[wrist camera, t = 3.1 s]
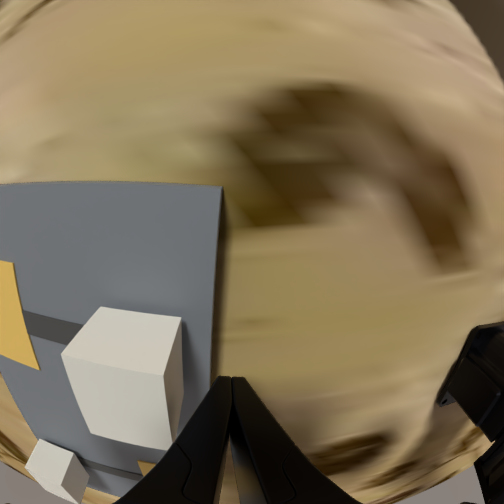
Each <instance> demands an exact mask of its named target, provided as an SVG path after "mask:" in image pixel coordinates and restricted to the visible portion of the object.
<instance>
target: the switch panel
mask: <svg viewBox="0 0 504 504" xmlns="http://www.w3.org/2000/svg"><path fill="white" fill-rule="evenodd" d="M222 192H223V187H221V186H209V185H194V184H178V183H158V182H129V181H57V182H30V183H13V184H0V372H1V374H2V376H3V378H4V381H5V383H6V385H7V387H8V389H9V391H10V393H11V395H12V397H13V399H14V401H15V403H16V404H17V406H18V408H19V410H20V412H21V413H22V415H23V417H24V419H25V420H26V422H27V424H28V425H29V427H30V429H31V430H32V432H33V433H34V435H35V436H36V438H37V439H38V441H39V439H42V440H44V441H46V442H48V443H51V444H53V445H55V446H58V447H60V448H63V449H65V450H68V451H70V452H73V453H74V454H75V455H76V457H77V458H78V460H79V462H80V463H81V465H82V466H83V467H84V469H85V470H86V472H87V473H88V475H89V476H90V477H89V480H88V483H87V487H90V488H92V489H95V490H98V491H102V492H105V493H108V494H111V495H115V496H118V497H122V496H124V495H125V494H126V493H127V492H128V491H129V490H130V489H131V488H132V487H133V486H135V485H136V484H137V483H138V482H139V481H140V480H141V479H142V478H143V477H144V476H145V475H146V474H147V473H148V472H149V471H150V470H151V469H152V468H153V467H154V466H155V465H156V464H157V463H158V462H159V460H160V459H161V458H162V457H163V455H164V454H165V453H166V452H167V450H160V449H154V448H149V447H144V446H139V445H134V444H130V443H125V442H121V441H117V440H113V439H109V438H105V437H102V436H98V435H95V434H92V433H91V432H90V430H89V428H88V426H87V424H86V422H85V419H84V417H83V415H82V412H81V410H80V408H79V405H78V403H77V400H76V398H75V395H74V392H73V390H72V387H71V384H70V381H69V378H68V375H67V372H66V369H65V366H64V363H63V360H62V357H61V353H62V352H63V351H64V349H65V348H66V347H67V346H68V344H69V343H70V342H71V341H72V339H73V338H74V337H75V336H76V335H77V333H78V332H79V331H80V330H81V329H82V327H83V326H84V325H85V324H86V323H87V321H88V320H89V319H90V318H91V317H92V316H93V314H94V313H95V312H96V311H97V310H98V309H99V308H100V306H101V307H107V308H113V309H120V310H127V311H134V312H141V313H149V314H157V315H165V316H174V317H181V326H182V366H183V387H184V395H183V400H182V406H181V412H180V418H179V423H178V429H177V435H176V438H177V436H178V435H179V434H180V432H181V431H182V429H183V428H184V426H185V425H186V423H187V422H188V421H189V419H190V418H191V416H192V415H193V413H194V412H195V410H196V409H197V407H198V406H199V404H200V403H201V401H202V400H203V398H204V397H205V395H206V394H207V392H208V391H209V389H210V387H211V357H212V334H213V314H214V296H215V280H216V265H217V251H218V238H219V226H220V214H221V203H222Z"/></svg>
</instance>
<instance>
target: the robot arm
mask: <svg viewBox="0 0 504 504" xmlns="http://www.w3.org/2000/svg"><path fill="white" fill-rule="evenodd" d="M454 402H457V403H458V405H459V406H460V407H461V408H462V409H463V411H464V412H465V413H466V414H467V416H468V417H469V418H470V419H471V421H472V422H473V423H474V424H475V426H477V427H479V428H480V429H481V430H482V432H483V433H484V434H485V435H486V437H487V438H488V439H489V441H490V442H493V441H494V440H495V442H494V443H493V445H492V446H491V447H490V448H489V449H488V450H487V451H486V452H485V453H484V454H483V455H482V456H480V457H479V458H478V459H477V460H476V461H475V462H474V466H475V469H476V473H477V476H478V479H479V483H480V486H481V490H482V494H483V497H484V501H485V504H504V322H498V323H492V324H486V325H479V326H476V327H475V328H474V329H473V331H472V332H471V335H470V337H469V339H468V342H467V344H466V346H465V348H464V350H463V353H462V355H461V357H460V359H459V361H458V363H457V365H456V367H455V369H454V371H453V373H452V375H451V377H450V379H449V380H448V382H447V384H446V386H445V388H444V389H443V391H442V393H441V395H440V396H439V398H438V400H437V404H438V405H439V406H440V407H442V406H445V405H448V404H451V403H454ZM229 434H230V445H231V451H232V458H233V464H234V470H235V476H236V482H237V488H238V493H239V499H240V504H363V503H361V502H359V501H357V500H355V499H354V498H352V497H351V496H350V495H348V494H347V493H346V492H345V491H343V490H342V489H341V488H340V487H338V486H337V485H336V484H335V483H334V482H332V481H331V480H330V479H329V478H328V477H326V476H325V475H324V474H323V473H322V472H321V471H320V470H319V469H318V468H316V467H315V466H314V465H313V464H312V463H311V462H310V460H309V459H308V458H307V457H306V456H305V455H304V454H303V453H302V452H301V450H300V449H299V448H298V447H297V446H296V445H295V443H294V442H293V441H292V439H291V438H290V437H289V436H288V434H287V433H286V432H285V431H284V429H283V428H282V427H281V426H280V424H279V423H278V422H277V421H276V419H275V418H274V417H273V415H272V414H271V413H270V411H269V410H268V409H267V407H266V406H265V405H264V403H263V402H262V401H261V399H260V398H259V397H258V395H257V394H256V393H255V391H254V390H253V388H252V387H251V386H250V384H249V383H248V382H247V380H246V379H245V378H244V377H232V378H231V377H230V376H218V377H217V379H216V380H215V382H214V383H213V385H212V386H211V388H210V389H209V391H208V392H207V394H206V395H205V397H204V398H203V400H202V401H201V403H200V404H199V406H198V407H197V409H196V410H195V412H194V413H193V415H192V416H191V418H190V419H189V421H188V422H187V423H186V425H185V426H184V428H183V429H182V431H181V432H180V434H179V435H178V436H177V438H176V439H175V442H173V443H172V445H171V446H170V448H169V449H168V450H167V452H166V453H165V454H164V455H163V457H162V458H161V459H160V460H159V462H158V463H157V464H156V465H155V466H154V467H153V468H152V469H151V470H150V471H149V472H148V473H147V474H146V475H145V476H144V477H143V478H142V479H141V480H140V481H139V482H138V483H137V484H136V485H135V486H133V487H132V488H131V489H130V490H129V491H128V492H127V493H126V494H125V495H124V496H122V497H121V498H120V499H119V500H117V501H116V502H114V503H112V504H219V500H220V494H221V487H222V481H223V474H224V468H225V461H226V455H227V448H228V441H229ZM6 504H9V503H6ZM460 504H475V503H469V502H462V503H460Z"/></svg>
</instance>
